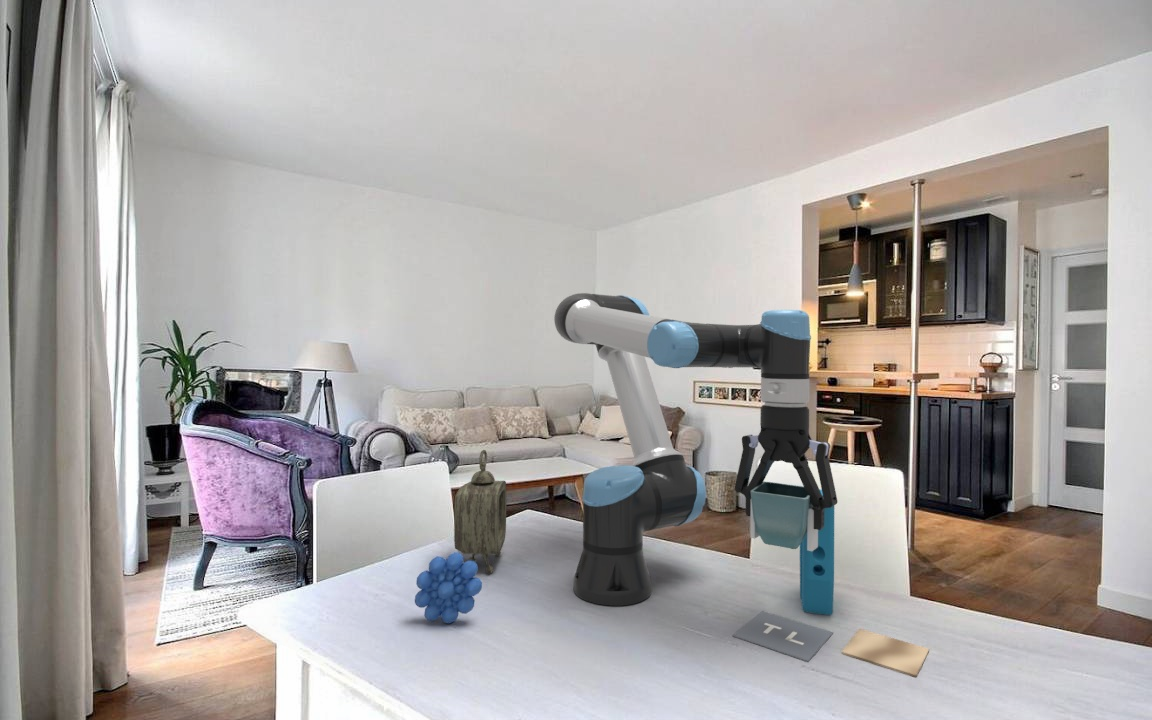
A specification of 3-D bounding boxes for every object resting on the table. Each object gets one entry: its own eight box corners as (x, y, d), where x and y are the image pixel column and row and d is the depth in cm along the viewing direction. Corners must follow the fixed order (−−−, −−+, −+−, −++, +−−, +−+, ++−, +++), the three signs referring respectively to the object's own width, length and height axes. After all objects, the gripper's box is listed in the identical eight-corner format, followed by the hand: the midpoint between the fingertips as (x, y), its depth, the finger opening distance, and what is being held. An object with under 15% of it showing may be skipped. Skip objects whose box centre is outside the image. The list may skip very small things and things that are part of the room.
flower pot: (806, 556, 87) (807, 498, 87) (748, 546, 92) (749, 490, 92) (816, 541, 95) (817, 487, 95) (762, 532, 100) (763, 481, 100)
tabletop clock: (496, 577, 117) (497, 455, 118) (452, 576, 118) (453, 455, 118) (505, 553, 132) (506, 445, 132) (467, 553, 132) (467, 445, 132)
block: (834, 619, 99) (835, 504, 99) (803, 615, 101) (804, 502, 101) (826, 593, 110) (827, 489, 110) (799, 589, 112) (799, 488, 112)
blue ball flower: (487, 613, 101) (488, 545, 101) (478, 631, 94) (478, 558, 94) (423, 610, 102) (424, 543, 102) (409, 628, 95) (409, 555, 95)
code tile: (732, 636, 93) (732, 634, 93) (762, 612, 102) (762, 610, 102) (808, 662, 85) (808, 660, 85) (833, 633, 94) (833, 631, 94)
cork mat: (841, 653, 87) (841, 651, 87) (859, 630, 95) (859, 628, 95) (916, 677, 81) (916, 675, 81) (929, 650, 89) (929, 648, 89)
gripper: (714, 402, 98) (712, 533, 98) (847, 410, 84) (846, 564, 84) (733, 399, 103) (732, 524, 103) (861, 407, 89) (860, 551, 89)
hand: (783, 542), depth 93 cm, fingers closed on flower pot, 9 cm apart
